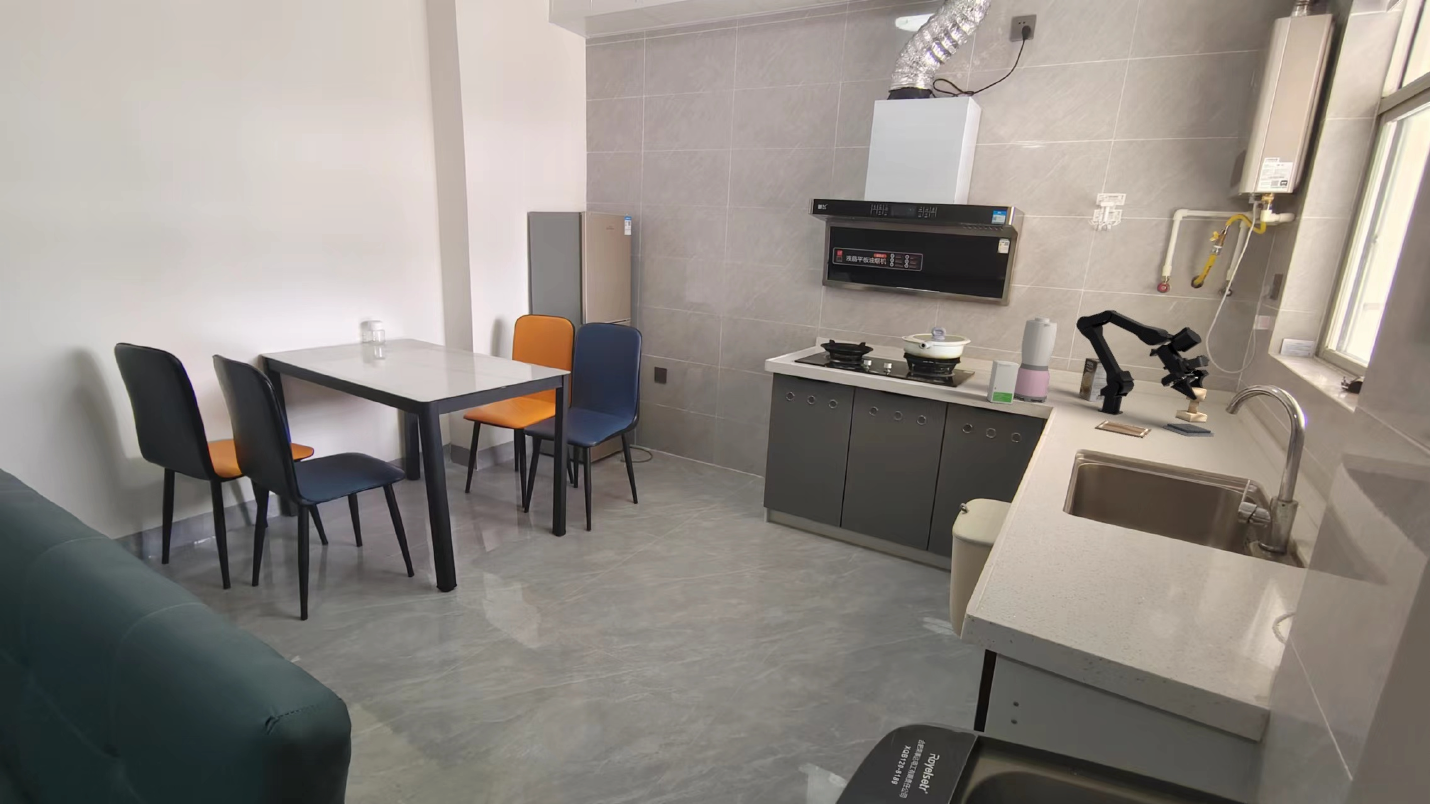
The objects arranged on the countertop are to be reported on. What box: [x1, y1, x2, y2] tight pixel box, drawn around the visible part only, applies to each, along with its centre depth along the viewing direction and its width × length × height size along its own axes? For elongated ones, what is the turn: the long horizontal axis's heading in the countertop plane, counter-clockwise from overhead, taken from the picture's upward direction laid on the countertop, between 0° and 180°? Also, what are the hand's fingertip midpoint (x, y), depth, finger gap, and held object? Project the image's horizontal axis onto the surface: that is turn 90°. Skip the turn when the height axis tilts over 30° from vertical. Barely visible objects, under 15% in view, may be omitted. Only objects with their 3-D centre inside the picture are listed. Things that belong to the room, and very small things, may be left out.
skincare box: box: [986, 359, 1020, 405], centre depth 255 cm, size 8×7×16 cm
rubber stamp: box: [1174, 387, 1208, 424], centre depth 225 cm, size 6×6×11 cm
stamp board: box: [1094, 420, 1152, 439], centre depth 225 cm, size 14×14×1 cm
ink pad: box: [1163, 422, 1215, 437], centre depth 227 cm, size 10×10×2 cm
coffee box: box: [1078, 357, 1107, 403], centre depth 269 cm, size 9×6×16 cm
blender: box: [1013, 316, 1058, 403], centre depth 262 cm, size 16×12×32 cm
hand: (1199, 399), depth 223 cm, fingers closed on rubber stamp, 5 cm apart
